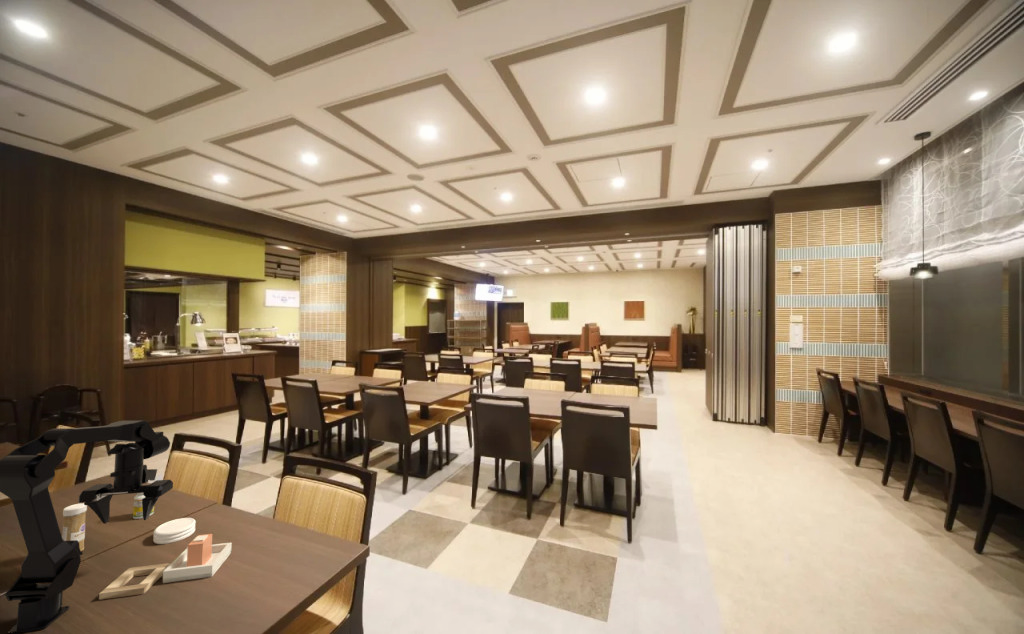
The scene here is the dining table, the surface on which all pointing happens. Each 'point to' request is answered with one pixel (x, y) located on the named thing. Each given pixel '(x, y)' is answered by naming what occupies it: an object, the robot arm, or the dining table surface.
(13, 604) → the dining table surface
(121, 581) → the holder
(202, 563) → the block
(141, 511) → the supplement bottle
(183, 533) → the coaster
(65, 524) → the sprinkles bottle
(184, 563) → the tray
